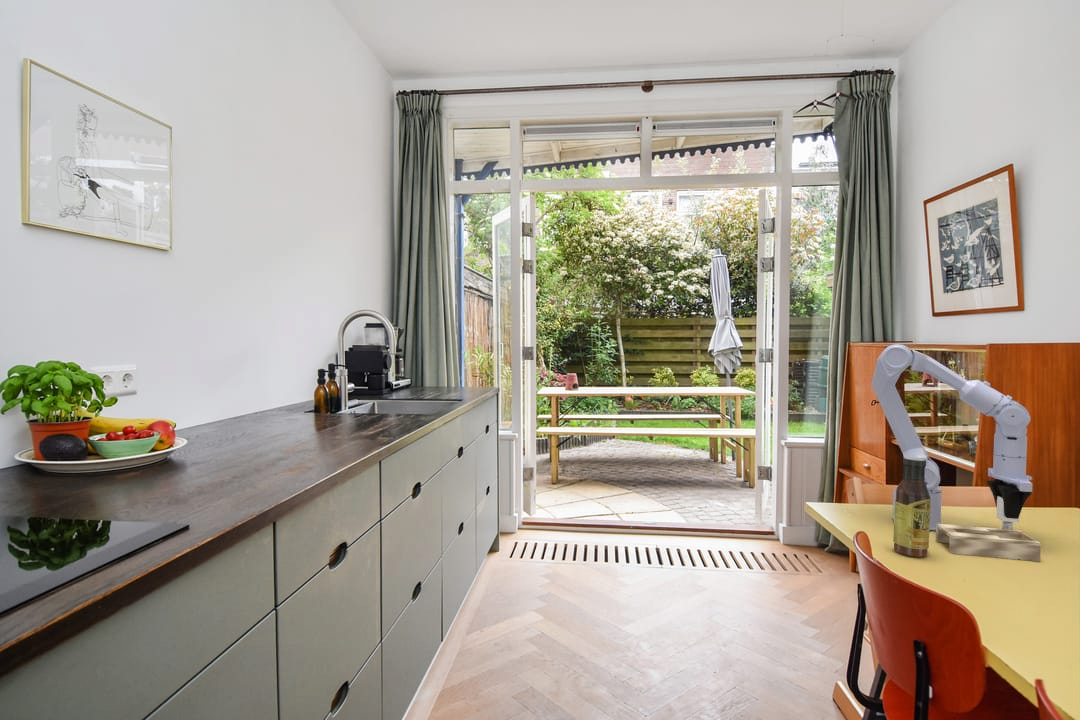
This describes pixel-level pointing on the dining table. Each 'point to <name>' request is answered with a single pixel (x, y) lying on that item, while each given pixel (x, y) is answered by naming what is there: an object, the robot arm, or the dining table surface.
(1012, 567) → the dining table surface
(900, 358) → the robot arm
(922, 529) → the sauce bottle
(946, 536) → the beige wooden frame
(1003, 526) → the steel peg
